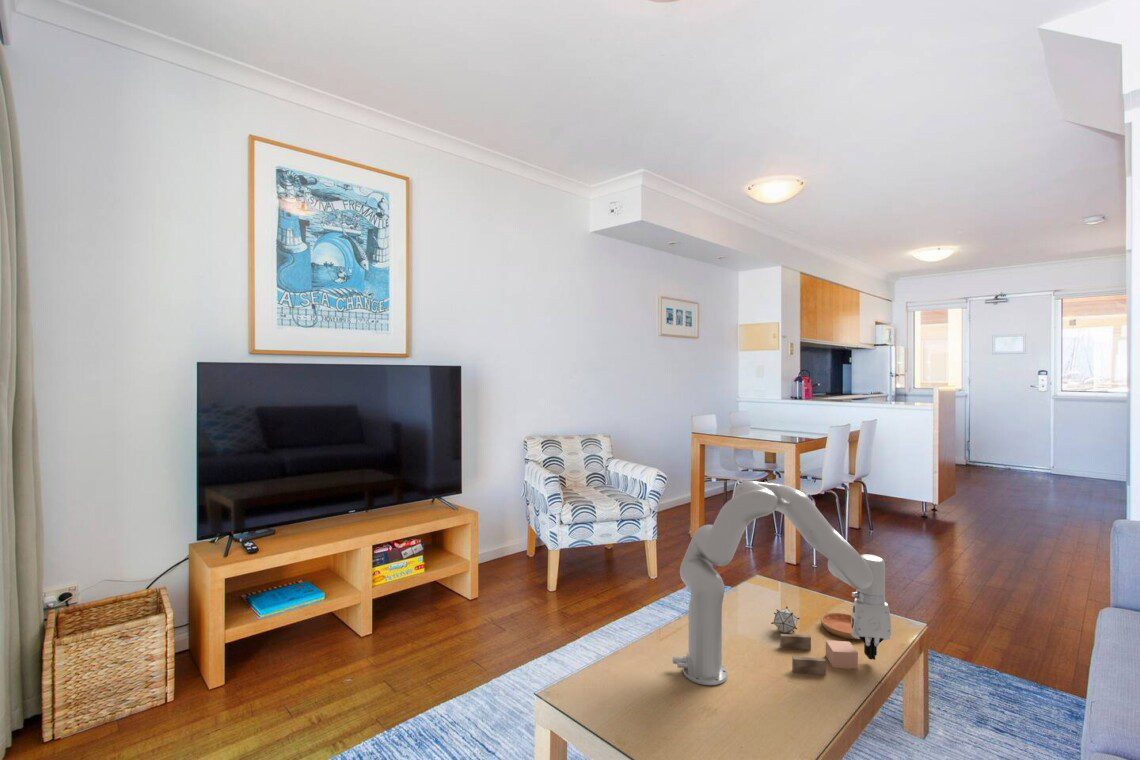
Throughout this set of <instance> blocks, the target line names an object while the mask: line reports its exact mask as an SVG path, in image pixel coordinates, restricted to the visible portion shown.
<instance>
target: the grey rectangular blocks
mask: <svg viewBox="0 0 1140 760" xmlns="http://www.w3.org/2000/svg"><path fill="white" fill-rule="evenodd" d="M779 639H780V640H779V641H780V642H779V643H780V645H779V646H780V648H781V649H785V650H786V649H787V650H801V651H802V650H804V651H806V650H807V651H812V638H811V635H809V634H791V633H785V634H783V633H780V638H779ZM791 663H792V665H791V666H792V672H793V674H795V673H796V674H809V675H810V674H813V675H824V676H825V675H827V674H826V673H827V669H826V668H827V660H826V659H825V658H824V657H822V658H821V657H820V658H819V657H808V656H807V657H806V656H805V657H804V656H792V662H791Z"/></svg>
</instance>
